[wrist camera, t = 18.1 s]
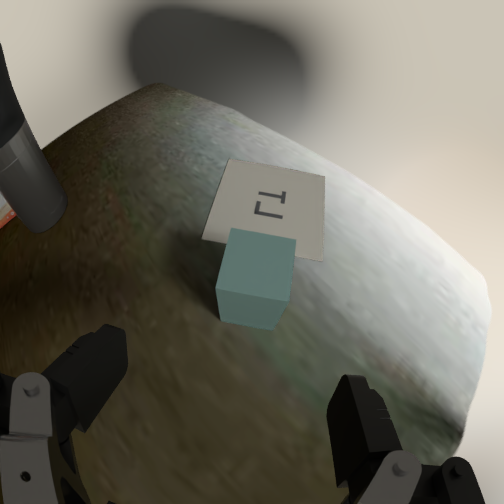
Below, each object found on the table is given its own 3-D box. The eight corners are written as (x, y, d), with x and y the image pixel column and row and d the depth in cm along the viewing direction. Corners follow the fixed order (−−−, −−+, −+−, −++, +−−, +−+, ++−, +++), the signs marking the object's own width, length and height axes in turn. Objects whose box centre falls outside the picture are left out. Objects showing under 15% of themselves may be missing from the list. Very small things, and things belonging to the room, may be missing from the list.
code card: (201, 239, 36) (201, 238, 36) (229, 159, 44) (229, 158, 44) (322, 261, 35) (322, 261, 35) (324, 176, 43) (324, 176, 43)
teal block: (220, 321, 31) (215, 288, 22) (231, 274, 34) (230, 227, 25) (272, 330, 30) (289, 301, 22) (279, 283, 33) (296, 239, 25)
